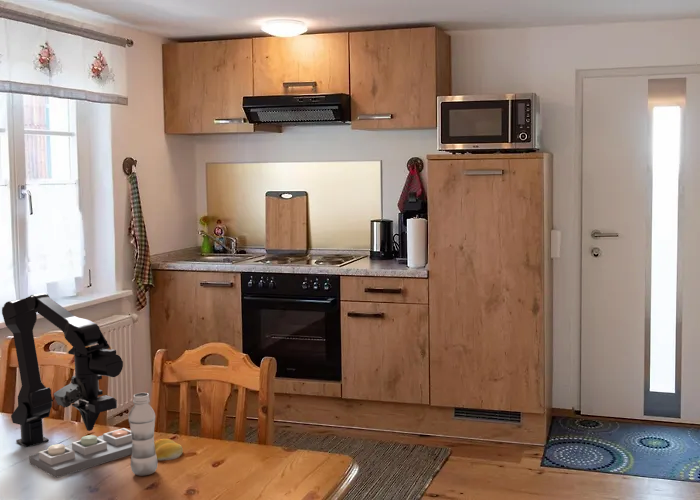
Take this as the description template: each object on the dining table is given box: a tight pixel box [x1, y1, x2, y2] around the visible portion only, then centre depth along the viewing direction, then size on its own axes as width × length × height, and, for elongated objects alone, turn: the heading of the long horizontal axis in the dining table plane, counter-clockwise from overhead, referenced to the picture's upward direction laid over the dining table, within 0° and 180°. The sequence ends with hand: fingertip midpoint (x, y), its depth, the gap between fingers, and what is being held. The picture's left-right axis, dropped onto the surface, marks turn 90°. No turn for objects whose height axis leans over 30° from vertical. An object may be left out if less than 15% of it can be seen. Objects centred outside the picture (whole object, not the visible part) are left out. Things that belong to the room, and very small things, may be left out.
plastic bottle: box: [128, 392, 159, 477], centre depth 204 cm, size 6×7×20 cm
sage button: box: [80, 434, 98, 447], centre depth 217 cm, size 4×4×2 cm
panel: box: [28, 427, 132, 478], centre depth 217 cm, size 14×26×4 cm, turn 136°
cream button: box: [47, 443, 66, 456], centre depth 210 cm, size 4×4×2 cm
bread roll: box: [154, 438, 184, 461], centre depth 218 cm, size 8×9×4 cm
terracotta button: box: [112, 430, 128, 438], centre depth 224 cm, size 4×4×2 cm
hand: (89, 430), depth 217 cm, fingers closed
